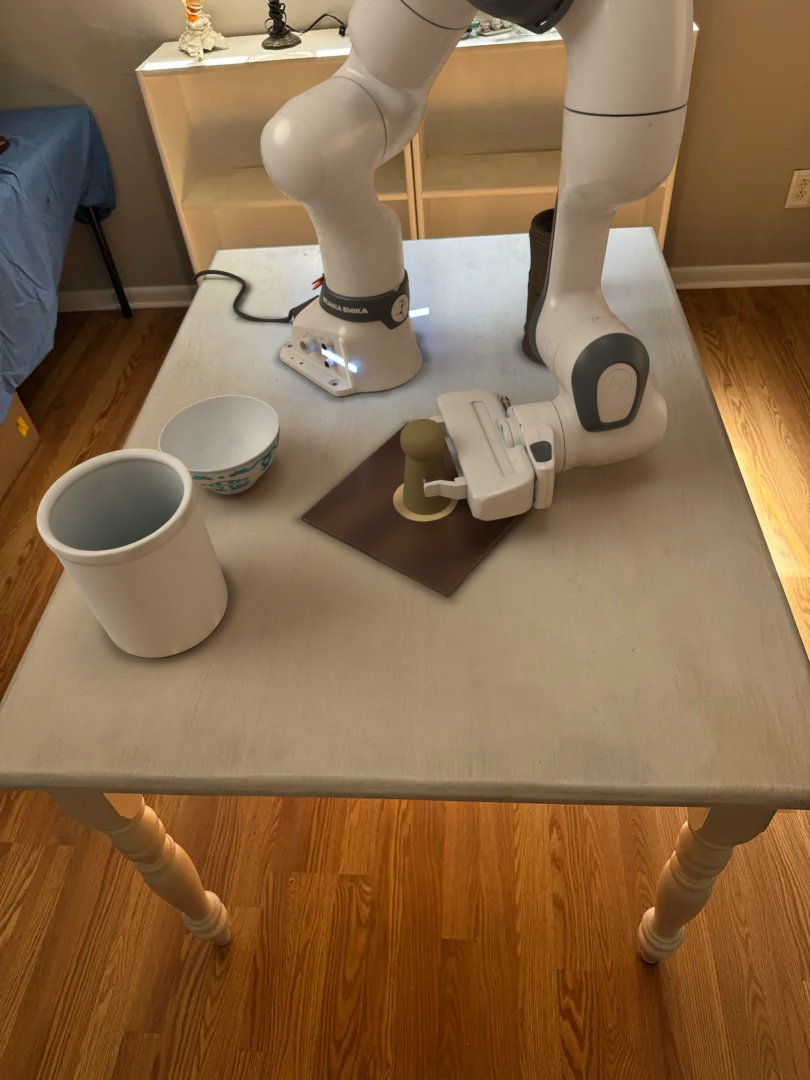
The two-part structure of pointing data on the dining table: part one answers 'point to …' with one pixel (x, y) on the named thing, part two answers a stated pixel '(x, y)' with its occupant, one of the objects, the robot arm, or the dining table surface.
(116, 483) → the utensil holder
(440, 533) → the mat
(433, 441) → the olive brown pawn
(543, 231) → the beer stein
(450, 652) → the dining table surface
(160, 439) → the chinaware
